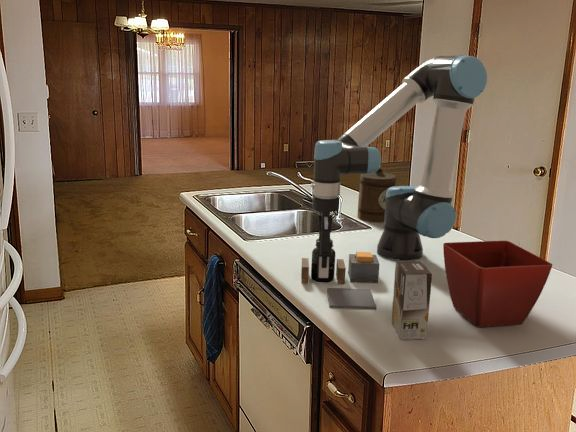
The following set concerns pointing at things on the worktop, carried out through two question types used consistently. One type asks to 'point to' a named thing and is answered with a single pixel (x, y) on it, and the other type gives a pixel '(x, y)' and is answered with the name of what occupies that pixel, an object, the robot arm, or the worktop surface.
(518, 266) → the plant pot
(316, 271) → the supplement bottle
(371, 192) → the wooden container
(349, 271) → the plunger housing
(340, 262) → the block
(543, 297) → the worktop surface
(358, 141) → the robot arm
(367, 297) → the mat
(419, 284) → the coffee box
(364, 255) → the plunger
